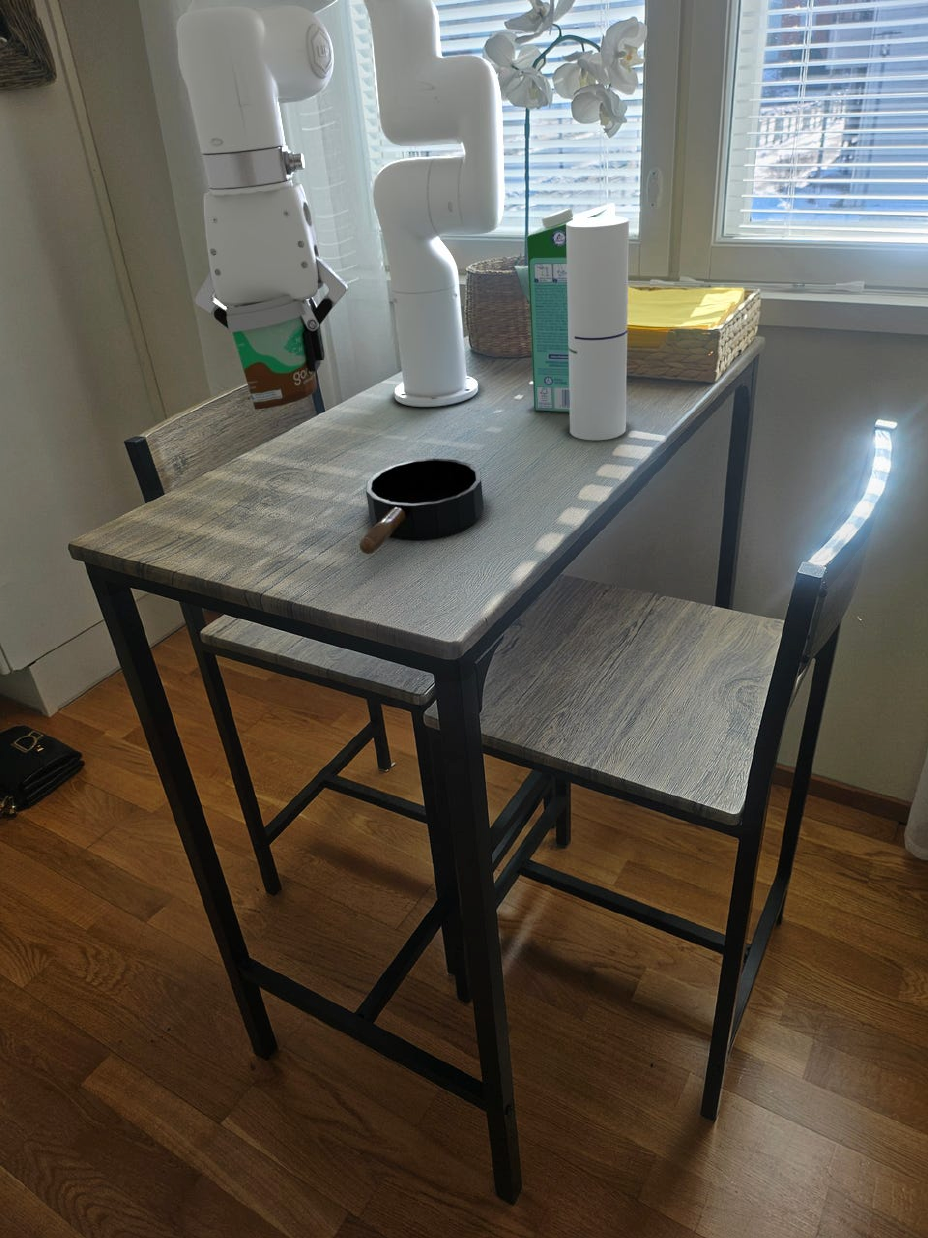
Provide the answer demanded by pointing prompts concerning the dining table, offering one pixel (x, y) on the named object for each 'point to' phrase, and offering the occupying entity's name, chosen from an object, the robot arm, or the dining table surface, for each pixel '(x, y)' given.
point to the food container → (272, 351)
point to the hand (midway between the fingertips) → (285, 368)
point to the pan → (422, 501)
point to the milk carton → (551, 308)
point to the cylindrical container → (597, 325)
